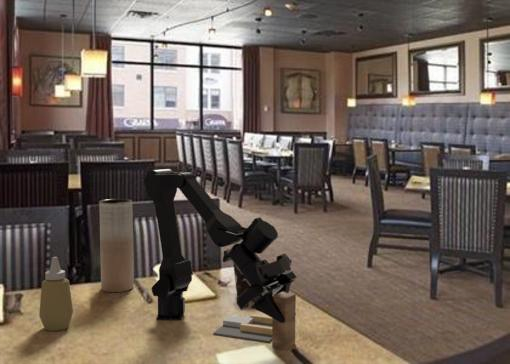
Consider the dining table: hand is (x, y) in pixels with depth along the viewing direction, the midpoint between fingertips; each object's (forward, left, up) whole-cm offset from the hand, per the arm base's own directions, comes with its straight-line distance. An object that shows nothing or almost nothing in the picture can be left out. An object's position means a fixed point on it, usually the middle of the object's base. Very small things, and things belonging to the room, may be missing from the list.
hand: (289, 318), depth 128 cm
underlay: (-9, +10, -7) cm, 15 cm away
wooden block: (-1, +1, -7) cm, 7 cm away
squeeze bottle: (-58, +10, -7) cm, 59 cm away
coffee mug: (-11, +42, -7) cm, 44 cm away
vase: (-53, +45, -7) cm, 70 cm away
